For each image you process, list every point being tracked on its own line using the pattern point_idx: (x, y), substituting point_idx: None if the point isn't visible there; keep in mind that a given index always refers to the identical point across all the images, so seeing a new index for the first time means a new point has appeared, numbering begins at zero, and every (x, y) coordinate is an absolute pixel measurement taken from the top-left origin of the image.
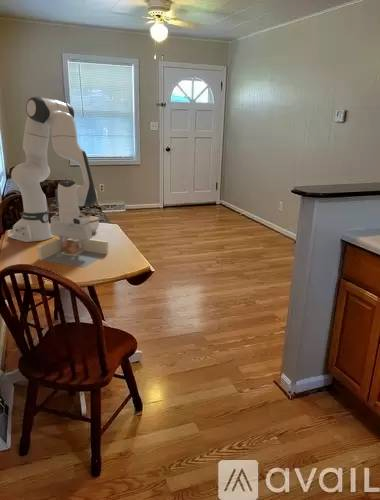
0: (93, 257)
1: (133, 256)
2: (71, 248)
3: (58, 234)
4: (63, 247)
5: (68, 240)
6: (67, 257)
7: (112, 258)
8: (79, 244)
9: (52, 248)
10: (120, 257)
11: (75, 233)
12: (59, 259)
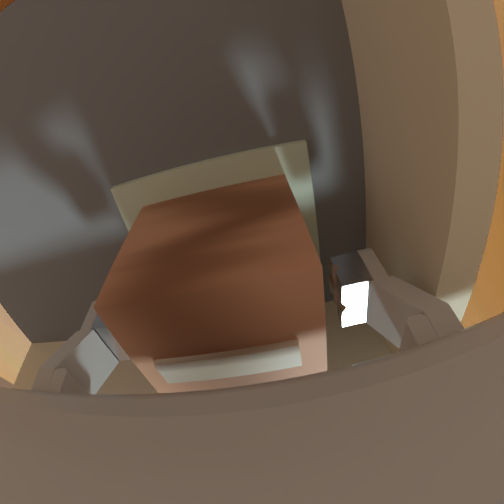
0: (6, 266)
1: (4, 371)
2: (149, 239)
3: (480, 355)
4: (292, 206)
5: (271, 344)
6: (130, 109)
7: (5, 324)
8: (80, 334)
9: (394, 78)
10: (7, 347)
11: (39, 478)
12: (149, 9)
